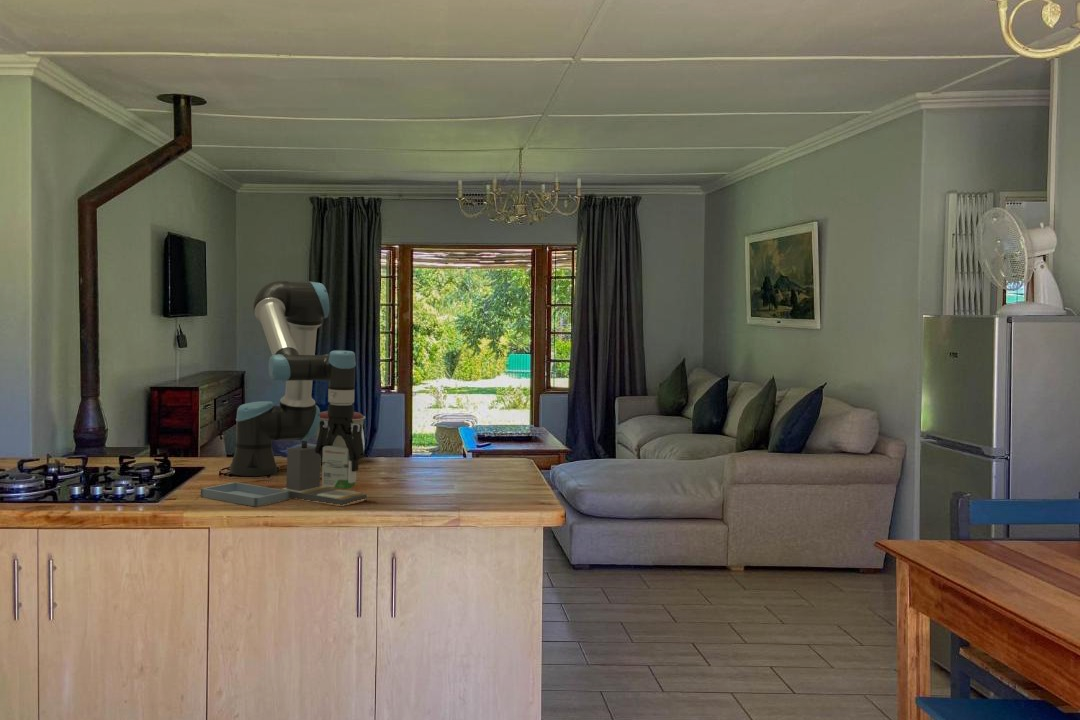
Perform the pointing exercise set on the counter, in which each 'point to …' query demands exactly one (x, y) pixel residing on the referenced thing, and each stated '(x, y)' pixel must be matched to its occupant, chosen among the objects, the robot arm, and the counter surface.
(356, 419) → the canister
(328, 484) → the ink box
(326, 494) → the board with cream panels
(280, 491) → the tray
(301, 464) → the dark grey tall block
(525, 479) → the counter surface
